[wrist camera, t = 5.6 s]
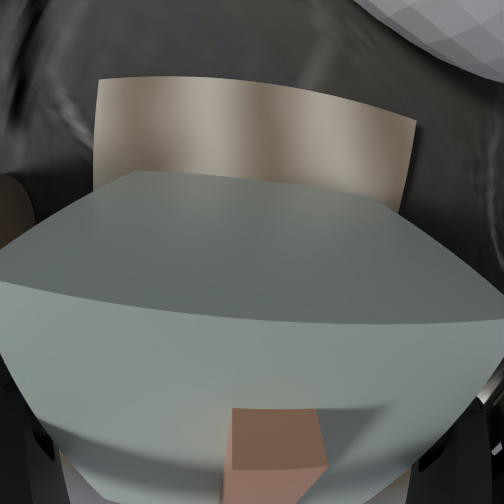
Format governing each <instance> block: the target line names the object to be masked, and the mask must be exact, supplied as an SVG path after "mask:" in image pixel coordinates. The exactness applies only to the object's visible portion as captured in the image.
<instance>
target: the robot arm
mask: <svg viewBox="0 0 504 504" xmlns="http://www.w3.org/2000/svg"><path fill="white" fill-rule="evenodd" d="M500 442H501V444H502V448H503V449H502V450H500V451H499V452H498V453H497V454H496V455H495V456H494V455H493V454H492V452H491V451H492V450H493V449H494V448H495V447H496V446H497V445H498V444H499V443H500ZM0 504H70V500H69V497H68V493H67V488H66V484H65V480H64V475H63V471H62V465H61V460H60V455H59V448H58V446H57V445H56V444H55V443H54V441H53V440H52V439H51V437H50V436H49V434H48V433H47V432H46V430H45V429H44V427H43V426H42V425H41V423H40V422H39V420H38V419H37V417H36V416H35V414H34V413H33V411H32V410H31V408H30V406H29V405H28V403H27V402H26V400H25V398H24V397H23V395H22V393H21V392H20V390H19V388H18V386H17V385H16V383H15V381H14V379H13V377H12V376H11V374H10V372H9V370H8V368H7V366H6V364H5V362H4V360H3V358H2V356H1V354H0ZM406 504H504V396H502V398H501V399H500V400H499V401H498V403H497V404H496V405H483V403H482V402H481V400H480V399H479V398H478V397H475V398H474V399H473V401H472V402H471V403H470V405H469V406H468V407H467V408H466V409H465V411H464V412H463V413H462V414H461V415H460V417H459V418H458V419H457V420H456V421H455V422H454V423H453V425H452V426H451V427H450V428H449V429H448V430H447V431H446V432H445V433H444V434H443V435H442V436H441V437H440V439H439V440H438V441H437V442H436V443H435V444H434V445H433V446H432V447H431V448H430V449H429V450H428V451H427V452H426V453H424V454H423V455H422V456H421V457H420V458H419V459H418V460H417V461H416V462H415V463H414V464H413V465H412V468H411V475H410V482H409V488H408V494H407V499H406Z"/></svg>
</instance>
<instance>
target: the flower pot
mask: <svg viewBox="0 0 504 504" xmlns="http://www.w3.org/2000/svg"><path fill="white" fill-rule="evenodd" d="M34 226H35V215H34V210H33V206H32V203H31V200H30V198H29V196H28V194H27V192H26V190H25V189H24V187H23V186H22V185H21V184H20V182H19V181H18V180H16V179H15V178H14V177H12V176H10V175H7V174H0V250H1V249H2V248H3V247H5V246H6V245H8V244H9V243H11V242H12V241H13V240H15V239H16V238H18V237H19V236H21V235H22V234H24V233H25V232H27V231H28V230H30V229H31V228H33V227H34Z"/></svg>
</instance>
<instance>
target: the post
mask: <svg viewBox="0 0 504 504" xmlns="http://www.w3.org/2000/svg"><path fill="white" fill-rule="evenodd" d="M415 126H416V120H413V119H410V118H407V117H404V116H402V115H399V114H396V113H393V112H390V111H386V110H383V109H380V108H377V107H373V106H370V105H366V104H363V103H359V102H356V101H352V100H348V99H344V98H340V97H336V96H332V95H327V94H323V93H318V92H313V91H308V90H303V89H298V88H292V87H286V86H280V85H274V84H267V83H259V82H251V81H242V80H232V79H220V78H205V77H172V76H162V77H129V78H114V79H103V80H99V87H98V95H97V105H96V116H95V130H94V151H93V191H95V190H97V189H99V188H101V187H103V186H105V185H107V184H108V183H110V182H112V181H114V180H116V179H118V178H120V177H122V176H124V175H126V174H128V173H130V172H133V171H135V170H144V171H163V172H178V173H192V174H204V175H216V176H226V177H236V178H245V179H254V180H263V181H271V182H278V183H286V184H293V185H300V186H307V187H314V188H320V189H326V190H333V191H339V192H344V193H350V194H356V195H361V196H367V197H372V198H374V199H375V200H377V201H378V202H380V203H382V204H383V205H385V206H386V207H388V208H389V209H391V210H392V211H394V212H395V213H397V214H398V211H399V207H400V203H401V199H402V194H403V190H404V186H405V181H406V176H407V172H408V167H409V161H410V156H411V151H412V145H413V139H414V133H415Z"/></svg>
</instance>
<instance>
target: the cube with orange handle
mask: <svg viewBox="0 0 504 504" xmlns="http://www.w3.org/2000/svg"><path fill="white" fill-rule="evenodd" d="M0 354H1V356H2V358H3V360H4V362H5V364H6V366H7V368H8V370H9V372H10V374H11V376H12V377H13V379H14V381H15V383H16V385H17V386H18V388H19V390H20V392H21V393H22V395H23V397H24V398H25V400H26V402H27V403H28V405H29V406H30V408H31V410H32V411H33V413H34V414H35V416H36V417H37V419H38V420H39V422H40V423H41V425H42V426H43V427H44V429H45V430H46V432H47V433H48V434H49V436H50V437H51V439H52V440H53V441H54V443H55V444H56V445H57V446H58V448H59V449H60V450H61V452H62V453H63V454H64V455H65V456H66V458H67V459H68V460H69V461H70V462H71V464H72V465H73V466H74V467H75V468H76V469H77V471H78V472H79V473H80V474H81V475H82V476H83V477H84V478H85V479H86V481H87V482H88V483H89V484H90V485H91V486H92V487H93V488H94V489H95V490H96V491H97V492H98V493H99V494H100V495H101V496H102V497H103V498H104V499H107V500H110V501H114V502H118V503H122V504H363V503H365V502H366V501H368V500H369V499H370V498H372V497H373V496H374V495H376V494H377V493H379V492H380V491H381V490H382V489H384V488H385V487H386V486H388V485H389V484H390V483H391V482H393V481H394V480H395V479H396V478H397V477H399V476H400V475H401V474H402V473H403V472H405V471H406V470H407V469H408V468H409V467H410V466H411V465H413V464H414V463H415V462H416V461H417V460H418V459H419V458H420V457H421V456H422V455H423V454H424V453H426V452H427V451H428V450H429V449H430V448H431V447H432V446H433V445H434V444H435V443H436V442H437V441H438V440H439V439H440V437H441V436H442V435H443V434H444V433H445V432H446V431H447V430H448V429H449V428H450V427H451V426H452V425H453V423H454V422H455V421H456V420H457V419H458V418H459V417H460V415H461V414H462V413H463V412H464V411H465V409H466V408H467V407H468V406H469V405H470V403H471V402H472V401H473V399H474V398H475V397H476V396H477V394H478V393H479V392H480V390H481V389H482V388H483V386H484V385H485V384H486V382H487V381H488V379H489V378H490V377H491V375H492V374H493V372H494V371H495V369H496V368H497V366H498V365H499V363H500V362H501V360H502V359H503V357H504V295H503V294H502V293H501V292H499V291H498V290H497V289H496V288H495V287H494V286H493V285H491V284H490V283H489V282H488V281H487V280H486V279H484V278H483V277H482V276H481V275H480V274H478V273H477V272H476V271H475V270H473V269H472V268H471V267H470V266H469V265H467V264H466V263H465V262H463V261H462V260H461V259H460V258H458V257H457V256H456V255H455V254H453V253H452V252H451V251H449V250H448V249H447V248H445V247H444V246H443V245H441V244H440V243H439V242H437V241H436V240H434V239H433V238H432V237H430V236H429V235H428V234H426V233H425V232H423V231H422V230H420V229H419V228H418V227H416V226H415V225H413V224H412V223H410V222H409V221H407V220H406V219H404V218H403V217H402V216H400V215H399V214H397V213H395V212H394V211H392V210H391V209H389V208H388V207H386V206H385V205H383V204H382V203H380V202H378V201H377V200H375V199H374V198H372V197H367V196H361V195H356V194H350V193H344V192H339V191H333V190H326V189H320V188H314V187H307V186H300V185H293V184H286V183H278V182H271V181H263V180H254V179H245V178H236V177H226V176H216V175H204V174H192V173H178V172H163V171H144V170H135V171H133V172H130V173H128V174H126V175H124V176H122V177H120V178H118V179H116V180H114V181H112V182H110V183H108V184H107V185H105V186H103V187H101V188H99V189H97V190H95V191H93V192H91V193H90V194H88V195H86V196H84V197H82V198H81V199H79V200H77V201H75V202H74V203H72V204H70V205H68V206H67V207H65V208H63V209H62V210H60V211H58V212H57V213H55V214H53V215H52V216H50V217H48V218H47V219H45V220H44V221H42V222H40V223H39V224H37V225H36V226H34V227H33V228H31V229H30V230H28V231H27V232H25V233H24V234H22V235H21V236H19V237H18V238H16V239H15V240H13V241H12V242H11V243H9V244H8V245H6V246H5V247H3V248H2V249H1V250H0Z"/></svg>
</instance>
